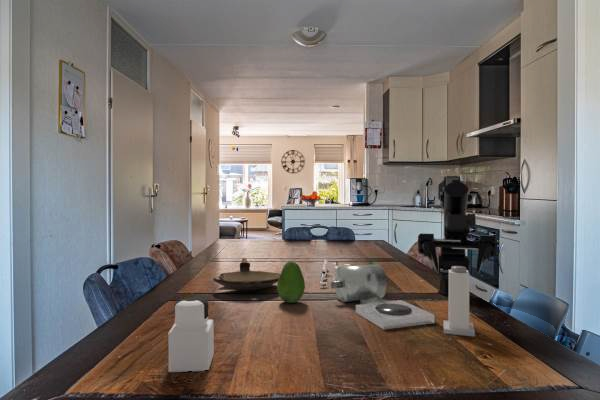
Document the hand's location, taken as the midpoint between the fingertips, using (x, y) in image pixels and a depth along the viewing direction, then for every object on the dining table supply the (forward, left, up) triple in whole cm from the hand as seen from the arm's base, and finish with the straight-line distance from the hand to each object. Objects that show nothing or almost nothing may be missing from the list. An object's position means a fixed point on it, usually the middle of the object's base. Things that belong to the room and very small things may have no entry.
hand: (457, 272), depth 97 cm
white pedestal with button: (+4, +5, -12) cm, 14 cm away
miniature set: (+6, -57, -13) cm, 59 cm away
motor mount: (+14, -16, -12) cm, 25 cm away
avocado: (+33, -30, -12) cm, 46 cm away
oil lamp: (+40, -52, -12) cm, 67 cm away
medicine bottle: (+63, +3, -12) cm, 64 cm away
